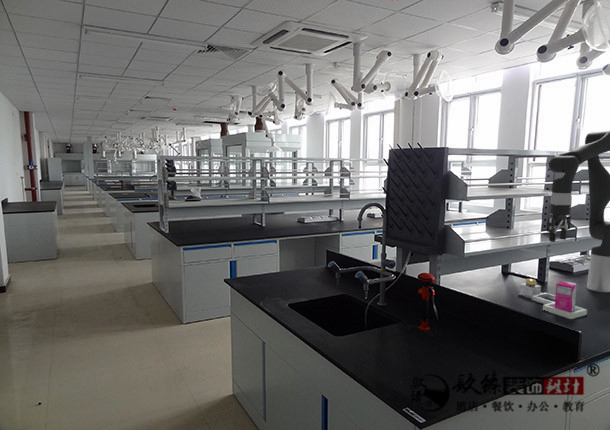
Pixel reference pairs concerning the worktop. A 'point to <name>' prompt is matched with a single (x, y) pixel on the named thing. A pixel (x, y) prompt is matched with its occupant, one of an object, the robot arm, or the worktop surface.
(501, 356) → the worktop surface
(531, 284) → the yellow knob
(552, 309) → the tray
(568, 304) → the supplement box
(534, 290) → the socket block
